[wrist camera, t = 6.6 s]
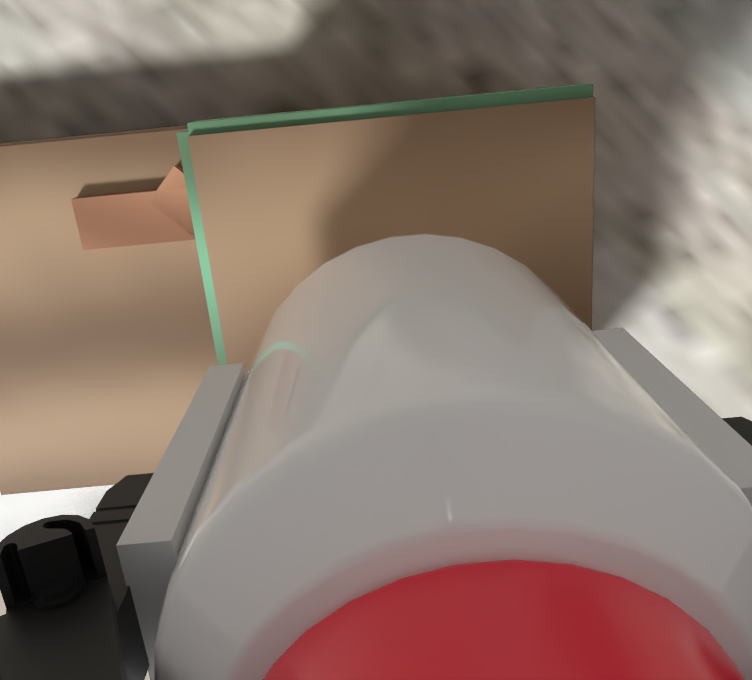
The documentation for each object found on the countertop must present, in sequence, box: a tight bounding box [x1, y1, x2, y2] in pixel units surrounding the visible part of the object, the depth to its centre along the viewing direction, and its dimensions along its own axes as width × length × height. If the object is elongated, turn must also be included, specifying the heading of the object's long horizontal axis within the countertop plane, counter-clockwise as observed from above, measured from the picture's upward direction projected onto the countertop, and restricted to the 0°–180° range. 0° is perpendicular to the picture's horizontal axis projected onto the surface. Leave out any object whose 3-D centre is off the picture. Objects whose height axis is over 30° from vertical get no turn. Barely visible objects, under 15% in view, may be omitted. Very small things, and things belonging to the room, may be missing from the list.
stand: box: [0, 84, 595, 495], centre depth 23 cm, size 12×20×8 cm, turn 95°
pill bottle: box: [154, 234, 752, 680], centre depth 11 cm, size 8×8×11 cm
